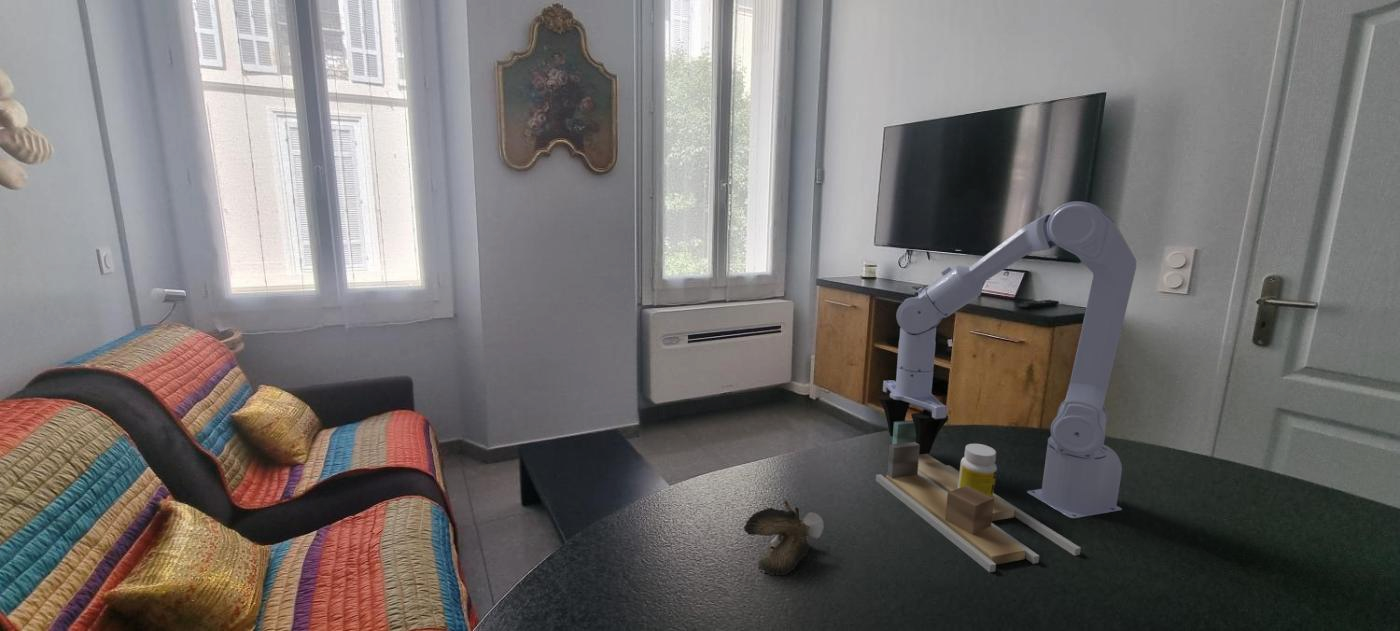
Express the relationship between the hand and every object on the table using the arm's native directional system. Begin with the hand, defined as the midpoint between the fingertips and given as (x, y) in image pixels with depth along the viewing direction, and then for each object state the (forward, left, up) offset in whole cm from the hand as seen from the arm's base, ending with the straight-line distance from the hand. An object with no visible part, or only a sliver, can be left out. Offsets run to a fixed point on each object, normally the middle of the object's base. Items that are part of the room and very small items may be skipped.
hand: (908, 444), depth 98 cm
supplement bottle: (0, +16, -3) cm, 16 cm away
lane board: (+3, +18, -3) cm, 18 cm away
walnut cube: (+6, +22, -1) cm, 23 cm away
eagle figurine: (+32, +19, -3) cm, 37 cm away
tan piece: (0, +10, -2) cm, 10 cm away
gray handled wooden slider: (+6, +18, -2) cm, 19 cm away
